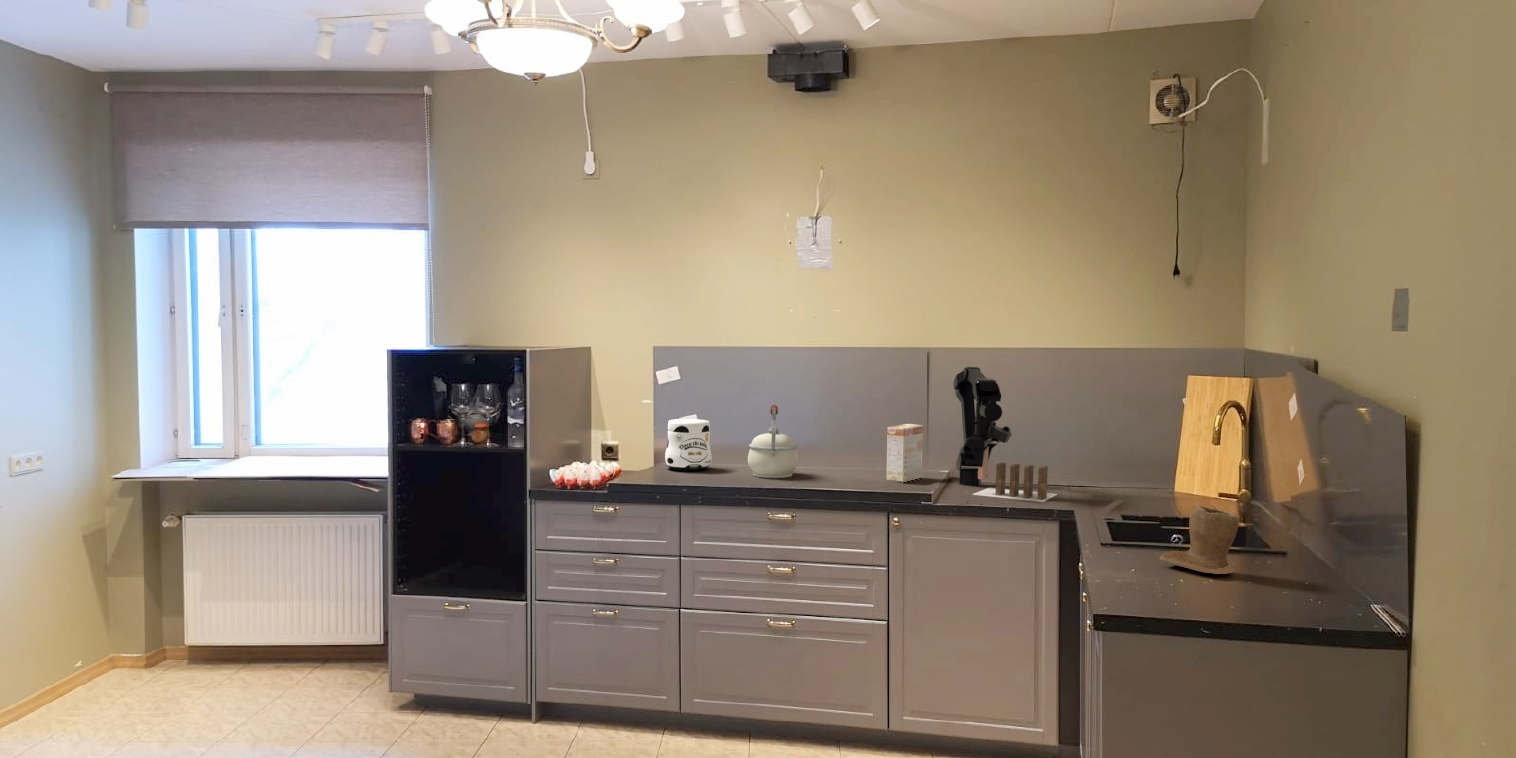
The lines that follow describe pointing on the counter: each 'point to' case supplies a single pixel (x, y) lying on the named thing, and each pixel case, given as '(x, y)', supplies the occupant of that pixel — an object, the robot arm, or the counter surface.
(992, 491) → the domino mat
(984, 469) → the domino
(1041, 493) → the domino
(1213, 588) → the counter surface
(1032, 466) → the domino
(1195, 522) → the brown hat
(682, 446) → the doce de leite jar
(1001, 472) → the domino
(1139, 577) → the counter surface
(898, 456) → the coffeecake box
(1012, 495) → the domino
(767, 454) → the kettle
